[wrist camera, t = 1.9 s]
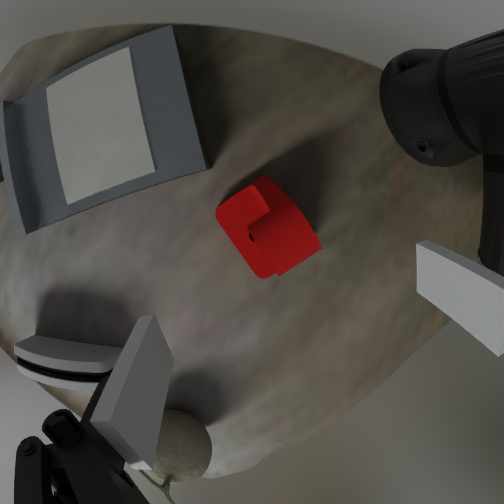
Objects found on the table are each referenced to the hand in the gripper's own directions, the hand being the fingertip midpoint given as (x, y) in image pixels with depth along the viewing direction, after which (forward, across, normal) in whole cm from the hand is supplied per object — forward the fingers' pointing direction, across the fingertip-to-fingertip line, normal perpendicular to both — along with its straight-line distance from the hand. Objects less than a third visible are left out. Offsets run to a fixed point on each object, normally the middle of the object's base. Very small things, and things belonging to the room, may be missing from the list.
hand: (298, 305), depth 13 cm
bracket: (+18, 0, 0) cm, 18 cm away
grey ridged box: (+18, +13, -14) cm, 26 cm away
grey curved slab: (+18, +28, +10) cm, 35 cm away
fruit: (+18, +19, +25) cm, 36 cm away
